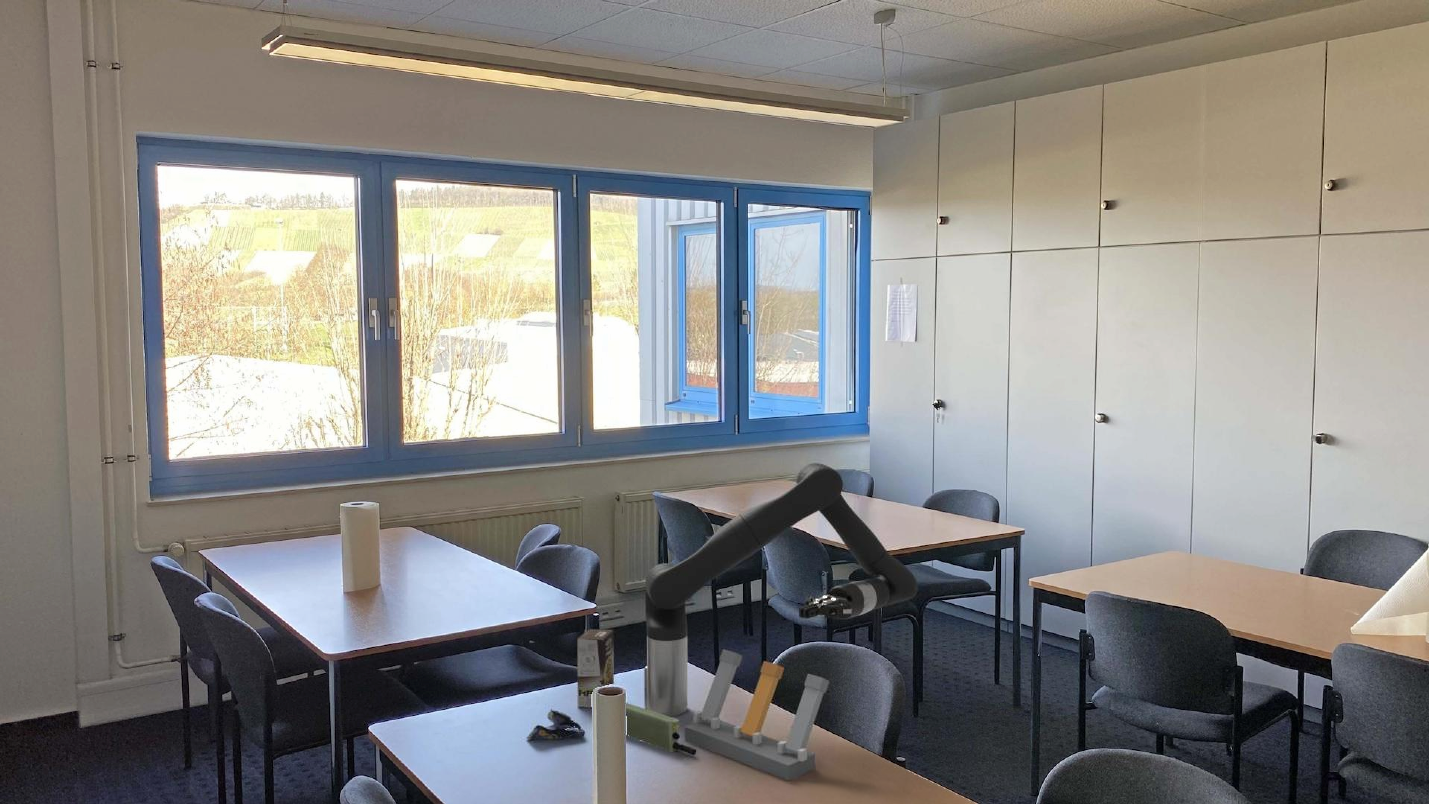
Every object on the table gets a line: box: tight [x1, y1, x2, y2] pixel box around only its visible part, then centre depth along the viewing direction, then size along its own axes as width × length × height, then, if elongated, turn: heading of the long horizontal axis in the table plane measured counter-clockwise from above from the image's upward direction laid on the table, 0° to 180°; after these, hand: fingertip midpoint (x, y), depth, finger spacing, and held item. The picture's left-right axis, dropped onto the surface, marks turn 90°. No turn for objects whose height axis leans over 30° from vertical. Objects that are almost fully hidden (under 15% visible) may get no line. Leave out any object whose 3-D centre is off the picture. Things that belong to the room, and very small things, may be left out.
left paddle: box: [700, 648, 743, 721], centre depth 226 cm, size 4×2×15 cm, turn 45°
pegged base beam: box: [684, 710, 816, 782], centre depth 215 cm, size 30×8×5 cm, turn 45°
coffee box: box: [576, 628, 615, 709], centre depth 247 cm, size 9×6×16 cm
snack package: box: [526, 708, 586, 741], centre depth 226 cm, size 12×6×12 cm
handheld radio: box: [625, 702, 697, 756], centre depth 222 cm, size 7×3×25 cm
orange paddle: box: [741, 660, 785, 736], centre depth 218 cm, size 4×2×15 cm, turn 45°
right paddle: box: [785, 673, 830, 753], centre depth 209 cm, size 4×2×15 cm, turn 45°
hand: (802, 613), depth 226 cm, fingers closed
